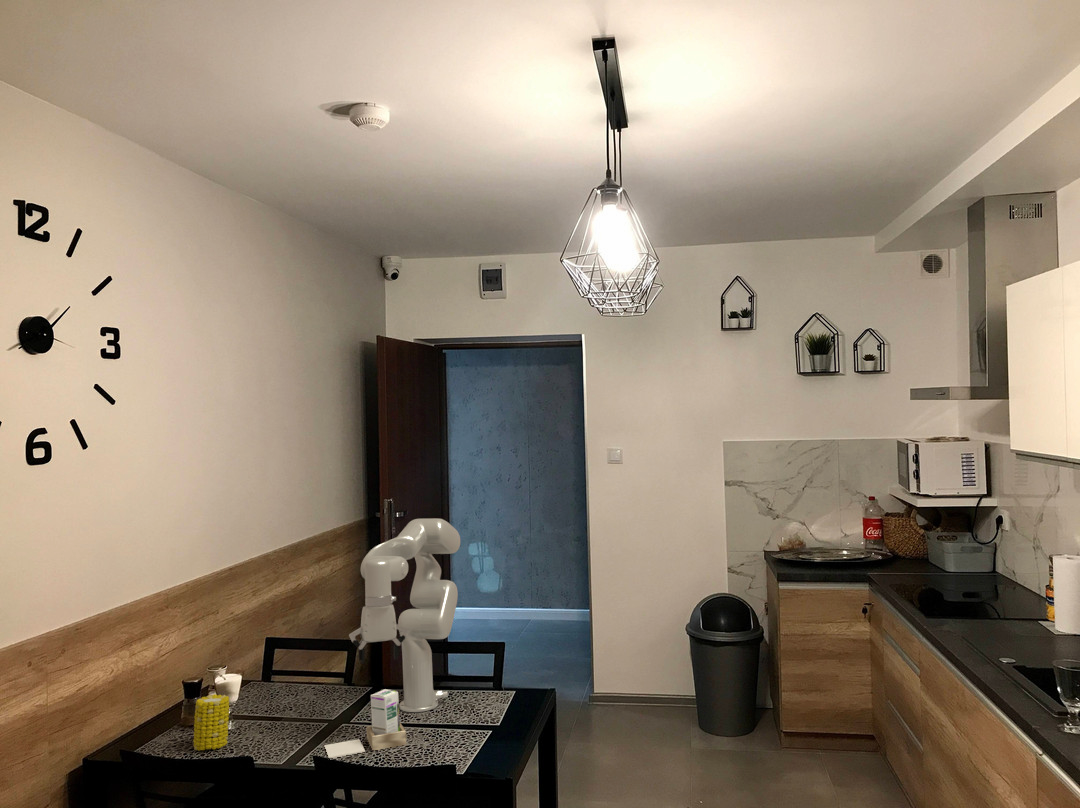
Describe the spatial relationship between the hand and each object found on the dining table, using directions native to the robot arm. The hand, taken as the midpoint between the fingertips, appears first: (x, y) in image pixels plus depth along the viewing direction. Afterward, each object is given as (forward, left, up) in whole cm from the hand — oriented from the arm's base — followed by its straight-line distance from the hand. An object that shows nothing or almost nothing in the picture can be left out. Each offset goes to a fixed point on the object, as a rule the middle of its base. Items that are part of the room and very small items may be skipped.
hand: (379, 660), depth 245 cm
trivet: (+11, +4, -23) cm, 26 cm away
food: (+46, -18, -23) cm, 55 cm away
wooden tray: (-1, +4, -23) cm, 23 cm away
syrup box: (-1, +4, -23) cm, 23 cm away
